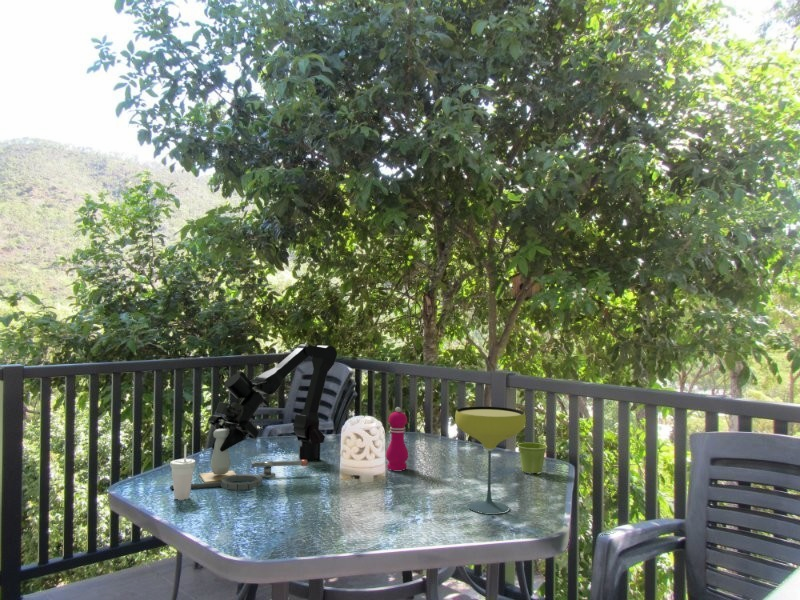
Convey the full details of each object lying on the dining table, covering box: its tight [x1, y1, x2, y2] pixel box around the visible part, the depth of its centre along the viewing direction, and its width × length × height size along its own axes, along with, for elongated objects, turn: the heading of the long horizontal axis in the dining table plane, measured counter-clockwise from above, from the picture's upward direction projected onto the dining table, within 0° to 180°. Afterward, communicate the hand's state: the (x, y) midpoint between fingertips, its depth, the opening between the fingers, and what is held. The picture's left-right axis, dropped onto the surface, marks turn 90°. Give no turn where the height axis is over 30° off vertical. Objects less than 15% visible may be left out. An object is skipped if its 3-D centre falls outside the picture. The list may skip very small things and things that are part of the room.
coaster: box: [198, 470, 238, 483], centre depth 187 cm, size 10×10×1 cm
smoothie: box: [169, 444, 196, 501], centre depth 166 cm, size 6×6×14 cm
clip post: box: [258, 467, 276, 479], centre depth 190 cm, size 5×5×3 cm
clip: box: [251, 459, 308, 469], centre depth 191 cm, size 17×3×2 cm, turn 103°
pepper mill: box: [385, 406, 409, 470], centre depth 202 cm, size 7×7×20 cm
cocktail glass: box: [454, 406, 527, 513], centre depth 162 cm, size 18×18×25 cm
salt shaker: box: [210, 429, 232, 475], centre depth 187 cm, size 6×6×13 cm
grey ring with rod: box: [169, 473, 263, 491], centre depth 178 cm, size 25×11×2 cm, turn 107°
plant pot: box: [516, 442, 548, 473], centre depth 200 cm, size 9×9×9 cm
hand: (216, 449), depth 186 cm, fingers closed on salt shaker, 3 cm apart
